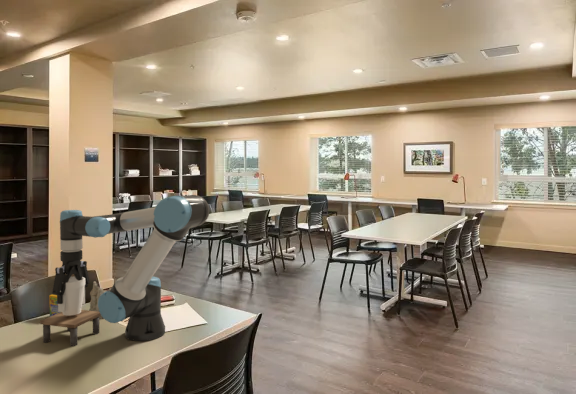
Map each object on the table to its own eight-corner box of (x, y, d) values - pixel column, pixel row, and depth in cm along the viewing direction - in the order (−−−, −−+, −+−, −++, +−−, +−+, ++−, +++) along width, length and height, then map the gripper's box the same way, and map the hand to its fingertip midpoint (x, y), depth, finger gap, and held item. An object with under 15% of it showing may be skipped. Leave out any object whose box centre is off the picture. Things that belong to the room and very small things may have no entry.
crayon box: (49, 317, 182) (48, 291, 182) (54, 314, 185) (54, 289, 184) (62, 319, 180) (62, 292, 180) (67, 316, 183) (67, 291, 182)
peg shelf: (101, 332, 167) (101, 312, 166) (74, 347, 152) (74, 325, 152) (70, 328, 170) (70, 308, 170) (40, 342, 155) (40, 320, 155)
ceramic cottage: (96, 320, 179) (98, 285, 179) (83, 312, 191) (84, 279, 191) (131, 314, 190) (133, 282, 190) (117, 307, 202) (118, 276, 202)
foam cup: (73, 317, 155) (73, 283, 154) (52, 315, 157) (51, 281, 156) (90, 309, 164) (90, 277, 163) (70, 307, 166) (70, 275, 165)
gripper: (83, 244, 171) (84, 298, 172) (39, 254, 149) (40, 315, 150) (99, 246, 169) (99, 300, 170) (57, 256, 147) (58, 317, 149)
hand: (72, 307), depth 160 cm, fingers closed on foam cup, 9 cm apart
